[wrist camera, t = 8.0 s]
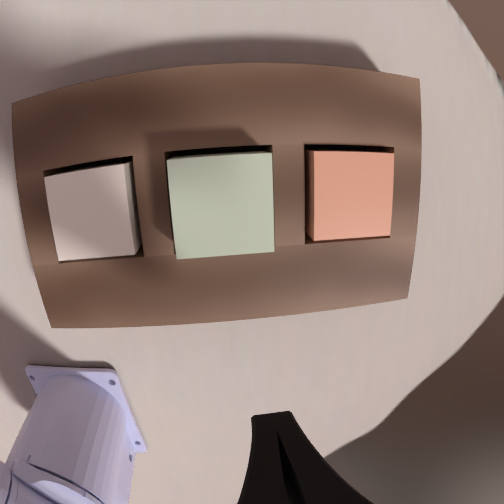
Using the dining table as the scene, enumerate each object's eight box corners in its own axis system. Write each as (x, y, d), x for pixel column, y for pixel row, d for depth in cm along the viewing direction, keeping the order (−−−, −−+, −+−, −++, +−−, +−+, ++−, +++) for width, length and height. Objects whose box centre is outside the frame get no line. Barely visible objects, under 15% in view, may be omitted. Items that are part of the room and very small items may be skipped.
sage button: (263, 231, 16) (274, 251, 13) (182, 237, 16) (176, 259, 13) (260, 150, 15) (271, 153, 12) (175, 156, 14) (166, 160, 12)
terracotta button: (364, 220, 18) (390, 235, 15) (297, 224, 17) (313, 240, 15) (366, 149, 16) (393, 153, 14) (296, 149, 16) (313, 151, 13)
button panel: (384, 277, 20) (407, 298, 17) (69, 303, 18) (51, 328, 15) (390, 85, 16) (419, 78, 13) (39, 106, 14) (11, 103, 11)
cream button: (147, 235, 17) (135, 254, 14) (80, 241, 16) (58, 261, 13) (139, 159, 15) (123, 164, 12) (69, 170, 15) (44, 177, 12)
